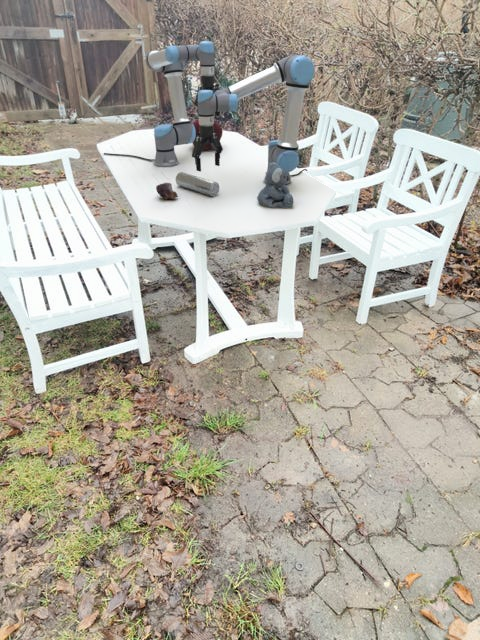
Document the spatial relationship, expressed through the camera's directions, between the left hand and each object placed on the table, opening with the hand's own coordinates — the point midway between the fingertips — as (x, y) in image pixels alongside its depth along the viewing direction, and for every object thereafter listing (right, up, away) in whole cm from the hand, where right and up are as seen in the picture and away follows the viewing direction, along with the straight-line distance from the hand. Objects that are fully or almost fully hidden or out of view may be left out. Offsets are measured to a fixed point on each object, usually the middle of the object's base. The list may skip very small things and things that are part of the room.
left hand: (209, 117), depth 255 cm
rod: (-6, -44, -6) cm, 44 cm away
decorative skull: (-7, +10, +72) cm, 73 cm away
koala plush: (+35, -55, -23) cm, 69 cm away
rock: (-22, -50, -16) cm, 57 cm away
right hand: (+1, -36, -20) cm, 41 cm away
